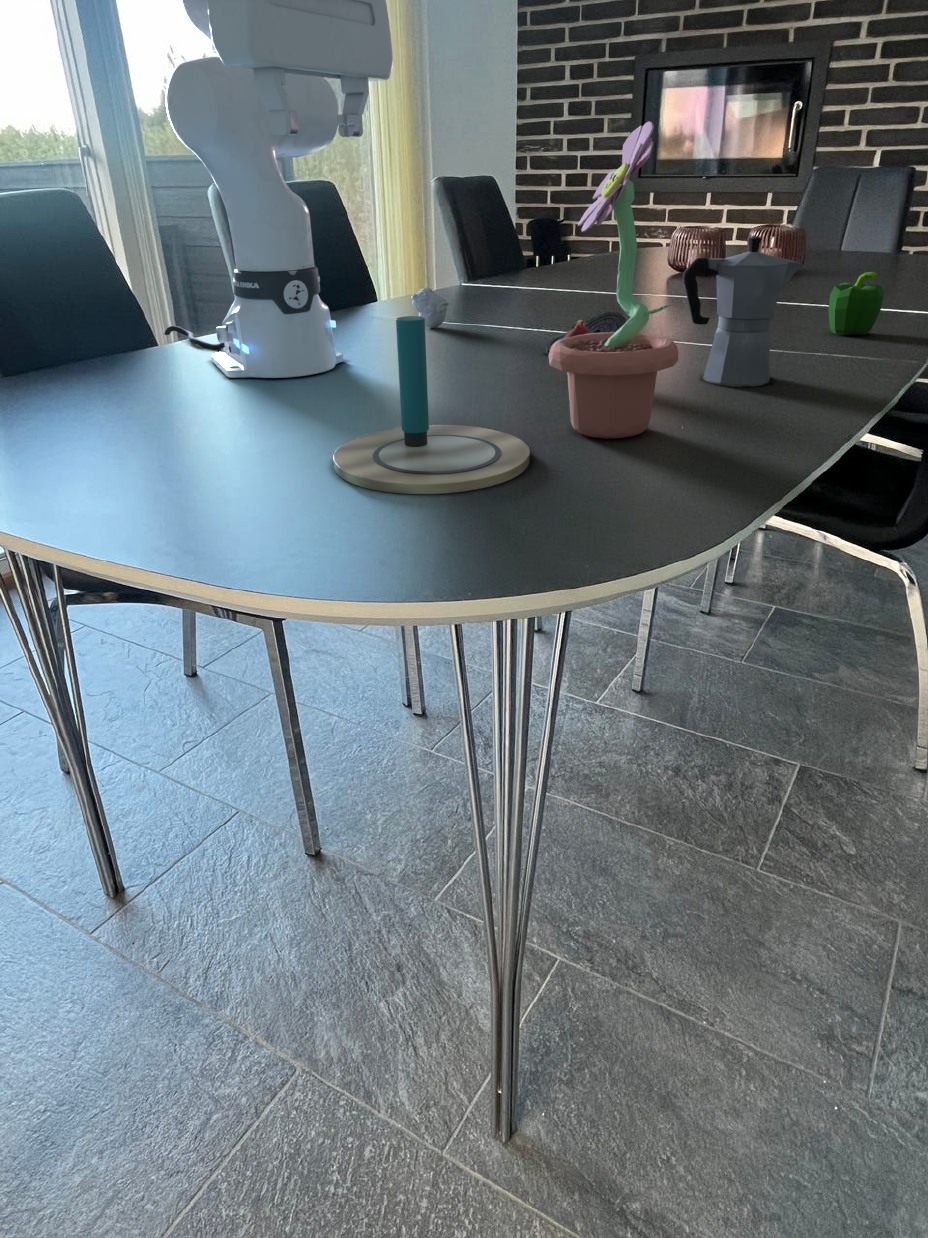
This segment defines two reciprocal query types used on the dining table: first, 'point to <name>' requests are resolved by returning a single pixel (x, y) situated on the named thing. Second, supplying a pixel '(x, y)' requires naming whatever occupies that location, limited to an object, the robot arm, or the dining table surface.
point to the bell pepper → (855, 306)
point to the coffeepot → (740, 312)
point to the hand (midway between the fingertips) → (319, 136)
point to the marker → (413, 379)
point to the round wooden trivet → (432, 460)
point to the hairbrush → (597, 325)
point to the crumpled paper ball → (430, 307)
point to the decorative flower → (623, 360)
